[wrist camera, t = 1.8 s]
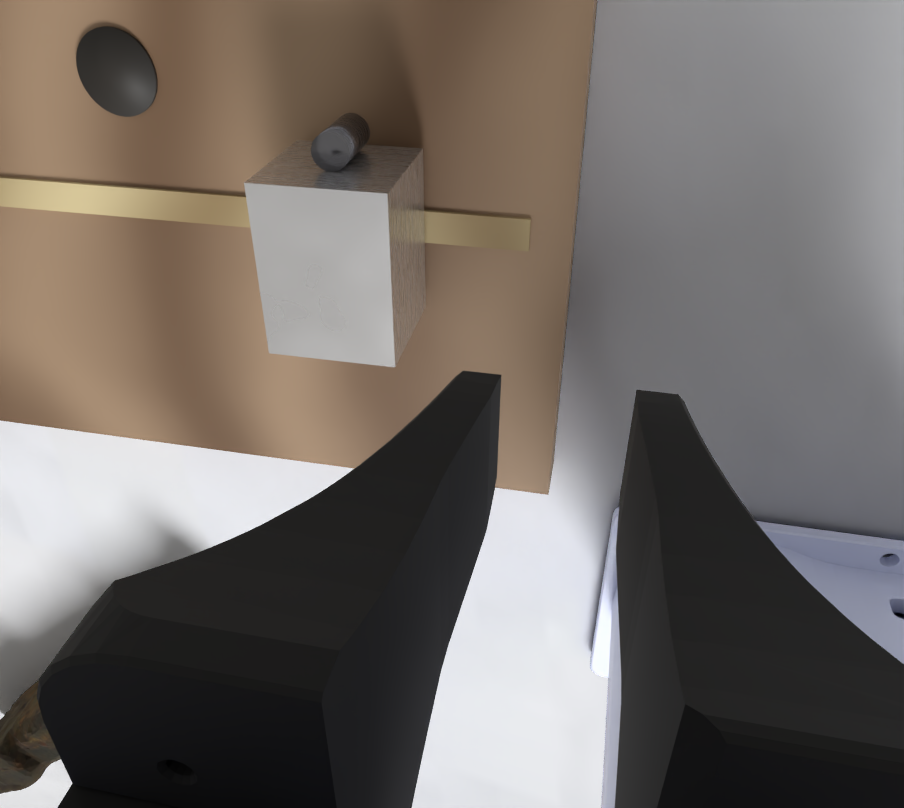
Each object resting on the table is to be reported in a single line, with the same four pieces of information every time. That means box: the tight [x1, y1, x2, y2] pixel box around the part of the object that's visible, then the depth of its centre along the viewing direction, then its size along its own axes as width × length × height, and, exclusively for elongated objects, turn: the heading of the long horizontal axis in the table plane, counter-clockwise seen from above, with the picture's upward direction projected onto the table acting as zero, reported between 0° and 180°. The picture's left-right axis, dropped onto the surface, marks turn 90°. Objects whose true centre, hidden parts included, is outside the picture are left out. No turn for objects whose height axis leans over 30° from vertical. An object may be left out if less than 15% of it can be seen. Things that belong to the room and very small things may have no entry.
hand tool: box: [0, 681, 61, 794], centre depth 35 cm, size 19×4×5 cm, turn 128°
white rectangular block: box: [244, 113, 426, 367], centre depth 18 cm, size 3×5×3 cm, turn 0°
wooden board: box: [0, 0, 597, 494], centre depth 20 cm, size 20×14×5 cm
